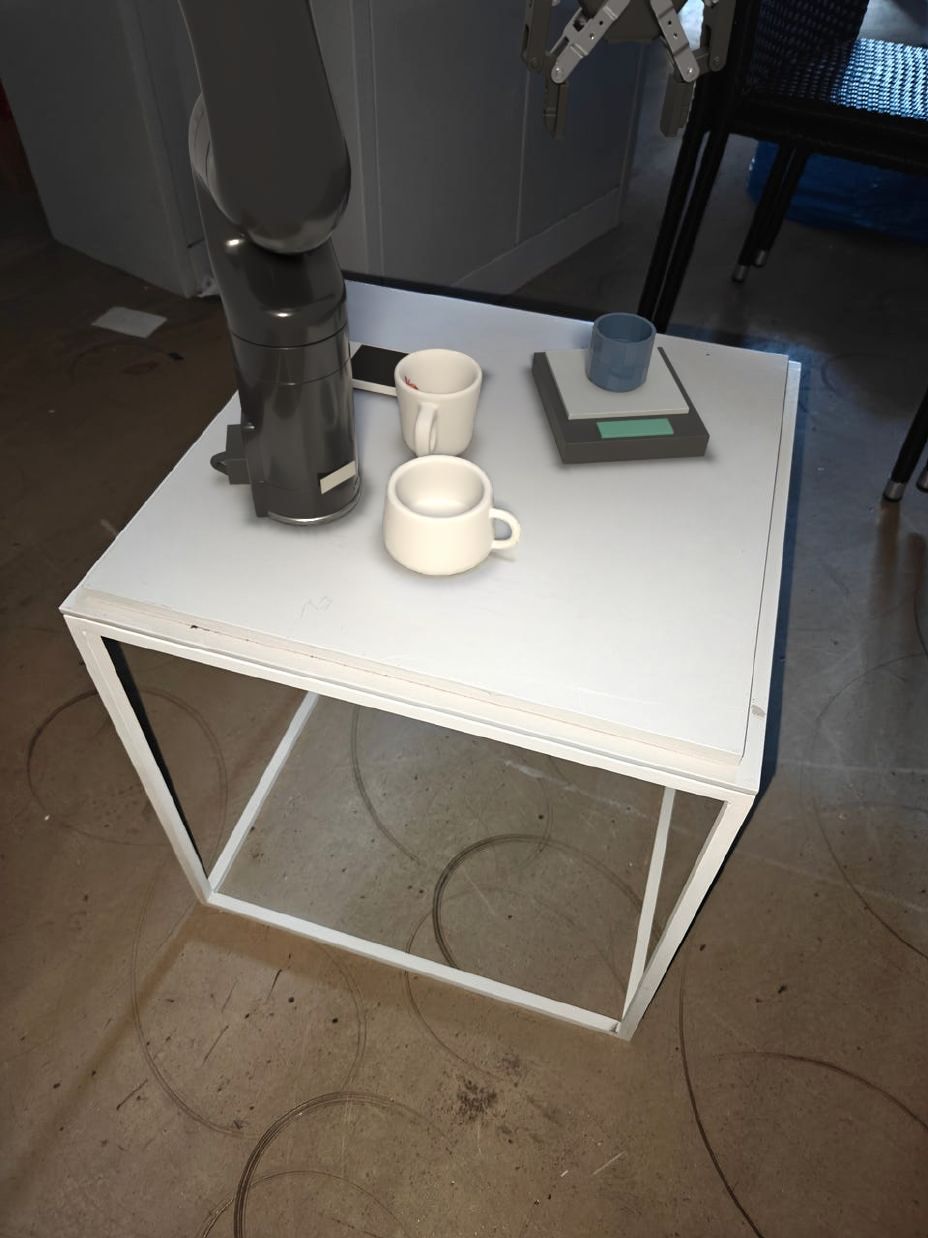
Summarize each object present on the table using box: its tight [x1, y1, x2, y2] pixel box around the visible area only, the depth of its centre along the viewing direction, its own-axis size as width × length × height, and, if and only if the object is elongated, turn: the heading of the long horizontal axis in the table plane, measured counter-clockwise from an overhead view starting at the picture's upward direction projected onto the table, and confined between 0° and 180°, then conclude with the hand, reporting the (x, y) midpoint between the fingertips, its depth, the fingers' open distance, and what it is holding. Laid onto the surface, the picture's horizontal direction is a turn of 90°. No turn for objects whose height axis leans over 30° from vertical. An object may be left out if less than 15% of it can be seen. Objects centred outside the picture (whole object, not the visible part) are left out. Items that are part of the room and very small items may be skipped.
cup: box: [394, 348, 483, 458], centre depth 82 cm, size 11×8×8 cm
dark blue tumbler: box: [586, 312, 657, 393], centre depth 88 cm, size 6×6×6 cm
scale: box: [531, 345, 711, 465], centre depth 90 cm, size 14×16×3 cm
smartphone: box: [350, 340, 412, 397], centre depth 93 cm, size 7×16×1 cm, turn 73°
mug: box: [382, 455, 522, 577], centre depth 75 cm, size 12×10×6 cm
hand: (611, 134), depth 66 cm, fingers open, 8 cm apart
